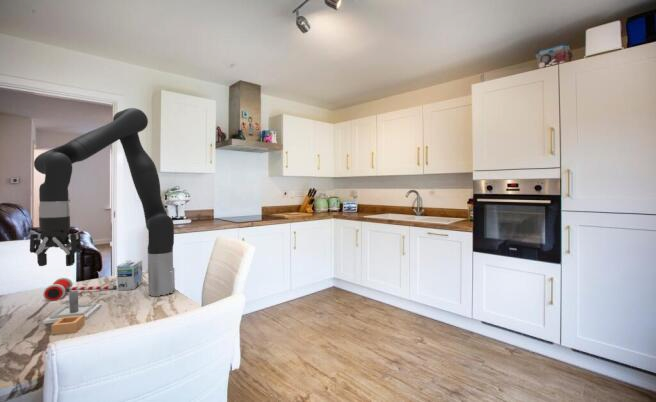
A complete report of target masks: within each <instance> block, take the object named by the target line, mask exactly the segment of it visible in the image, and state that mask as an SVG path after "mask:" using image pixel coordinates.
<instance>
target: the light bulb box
mask: <svg viewBox="0 0 656 402" xmlns="http://www.w3.org/2000/svg"><path fill="white" fill-rule="evenodd" d="M116 274H117V277H116V278H117V292H118V291H119V292H120V291H132V290H131V289H134V290H135V288H136V287H137V286H138V285H139V286H141V285H142V284H143V283H142V282H143V280H144V279H143V260H142V259H137V260H135V259H134V260H130V259H129V260H125V261H124V262H122V263H120V264H118V265H117V266H116ZM141 283H142V284H141ZM140 284H141V285H140ZM139 286H138V287H139ZM138 287H137V288H138ZM137 288H136V289H137Z"/></svg>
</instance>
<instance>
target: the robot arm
mask: <svg viewBox="0 0 656 402" xmlns="http://www.w3.org/2000/svg"><path fill="white" fill-rule="evenodd" d="M148 123H149V119H148V117H147V115H146V113H145V112H144V111H143V110H142V109H139V108H136V107H129V108H125V109H123V110H120V111H118V112H116V113H115V114H114V115H113V117H112V121H111V122H109V123H107V124H105V125H103V126H101V127H97V128H96V129H92V130H90V131H88V132H86V133H84V134H82V135H80V136H77V137H76V138H73V139H72V140H70V141H68V142H67V143H65V144H62V145H60V146H57V147H55V148H51V149H48V150H47V151H44V152H42V153H40V154H39V155H37V157H36V158H35V159H34V162H33V166H34V169H35V170H36V171H37V172H38V173H40V174H42V175H45V176H44V182H42V183H40V185H39V188H38V195H39V196H38V197H39V198H38V199H39V204H38V229H39V231H40V232H35V233H31V234H30V236H29V253H31V254H32V253H34V254H36V256H37V264H38V266H39V267H44V266H47V265H48V258H47V256H48V255H47V251H48V250H49V249H50V248H60V250H62V251H63V252H64V253H65V266H66V267H71V266H73V265H74V264H75V262H76V260H75V259H76V256H75V254H76V253H78V252H81V251H82V243H81V234H80V232H76V233H70V230H71V207H70V202H69V199H70V198H69V187H70V186H69V185H70V183H71V179H72V174H73V164H75V163H79V162H83V161H85V160H87V159H89V158H90V157H92V156H94V155H96V154H97V153H99V152H101V151H102V150H104V149H106V148H107V147H109V146H110V145H112V144H114V143H115V142H117V141H119V142H120V145H121V146H122V149H123V152H124V156H125V158H126V161H127V164H128V165H127V166H128V167H129V173H130V176H131V179H132V181H133V186H134V188H135V191H136V193H137V196H138V198H139V200H140V203H141V206H142V210H143V215H144V220H145V228H146V229H147V231H148V233H147V234H148V244H147V271H148V273H147V275H148V279H147V280H148V281H147V282H148V283H147V284H148V295H149V296H150V295H151V297H161V296H160V295H163V296H166V295H165V294H168V295H170V294H169V293H172V292H173V291H174V292H175V290H174V289H175V288H176V287H175V286H176V283H175V280H176V279H175V276H176V275H175V268H174V243H175V225H174V220H173V219H172V217H171V216H169V215H167V212H166V210H165V207H164V204H163V201H162V195H161V192H162V191H161V184H160V182H161V181H160V177H159V174H158V170H157V167H156V164H155V162H154V160H153V159H152V158H151V156H150V155H149V154H148V153H147V152H146V150H145V149H144V148H143V145H142V143H141V140H140V137H139V133H141V132H142V131H144V130H145V129H146V128H147V126H148ZM174 292H173V293H174ZM173 293H172V294H173Z"/></svg>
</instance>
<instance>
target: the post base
mask: <svg viewBox="0 0 656 402" xmlns="http://www.w3.org/2000/svg"><path fill="white" fill-rule="evenodd" d="M68 302H69V303H68V304H69V305H64V306H63V307H60V308H59V309H58V310H56V311H55V312H54V313H52V314H51V315H50V316H48V317H47V318H45V319H44V320H42V325H47V324H54V323H55V322H57V321H58V320H59V319H61V318H62V317H70V316H80V315H84V316H85V321H86V320H88V319H89V318H90V317H92V315H94V314H95V313H96V312H97V311H98V310H100V308H101V307H102V303H97V302H94V303H93V302H91V303H82V304H80V303H79V290H70V291H68Z"/></svg>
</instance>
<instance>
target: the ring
mask: <svg viewBox="0 0 656 402" xmlns="http://www.w3.org/2000/svg"><path fill="white" fill-rule="evenodd" d="M85 324H86V320H85V316H84V315H80V316H70V317H62V318H61V319H59V320H58V321H57V322H55V323H52V325H51V326H50V327H51V336H55V335H54V334H58V335H66V334H75V333H77V332H78V331H79V330H80V329H81V328H82V327H83V326H85Z"/></svg>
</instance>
